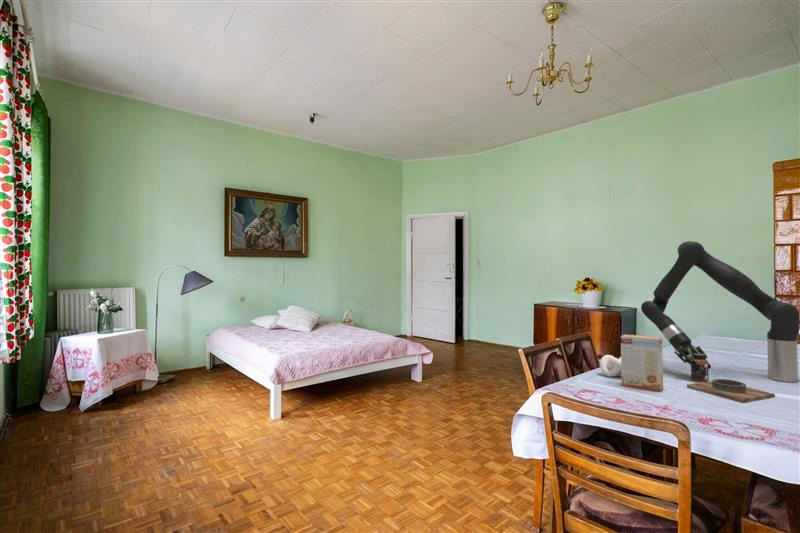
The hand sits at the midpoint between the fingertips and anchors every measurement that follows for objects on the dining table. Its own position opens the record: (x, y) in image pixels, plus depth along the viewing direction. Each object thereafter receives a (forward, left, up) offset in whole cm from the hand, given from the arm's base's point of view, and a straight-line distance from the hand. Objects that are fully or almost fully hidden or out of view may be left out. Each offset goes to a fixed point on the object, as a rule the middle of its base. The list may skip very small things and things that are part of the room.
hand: (703, 368), depth 170 cm
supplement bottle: (0, -2, -5) cm, 6 cm away
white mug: (+27, -20, -6) cm, 34 cm away
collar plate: (+6, +13, -5) cm, 16 cm away
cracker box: (+31, -4, -6) cm, 32 cm away
